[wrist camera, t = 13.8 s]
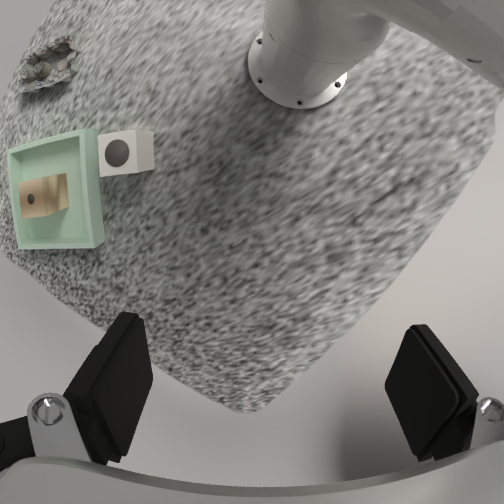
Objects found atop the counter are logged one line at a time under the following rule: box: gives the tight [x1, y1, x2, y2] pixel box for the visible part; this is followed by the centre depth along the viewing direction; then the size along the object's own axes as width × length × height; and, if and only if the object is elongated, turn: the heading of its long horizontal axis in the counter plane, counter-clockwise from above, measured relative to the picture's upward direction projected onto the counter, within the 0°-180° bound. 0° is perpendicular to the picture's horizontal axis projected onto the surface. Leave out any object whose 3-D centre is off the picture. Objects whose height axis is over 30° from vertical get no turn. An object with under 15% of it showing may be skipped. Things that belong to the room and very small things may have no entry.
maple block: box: [18, 173, 70, 219], centre depth 33 cm, size 5×5×6 cm
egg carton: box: [17, 35, 81, 93], centre depth 28 cm, size 11×8×4 cm
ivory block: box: [98, 129, 154, 177], centre depth 32 cm, size 5×5×6 cm
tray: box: [7, 128, 106, 250], centre depth 35 cm, size 16×16×4 cm
